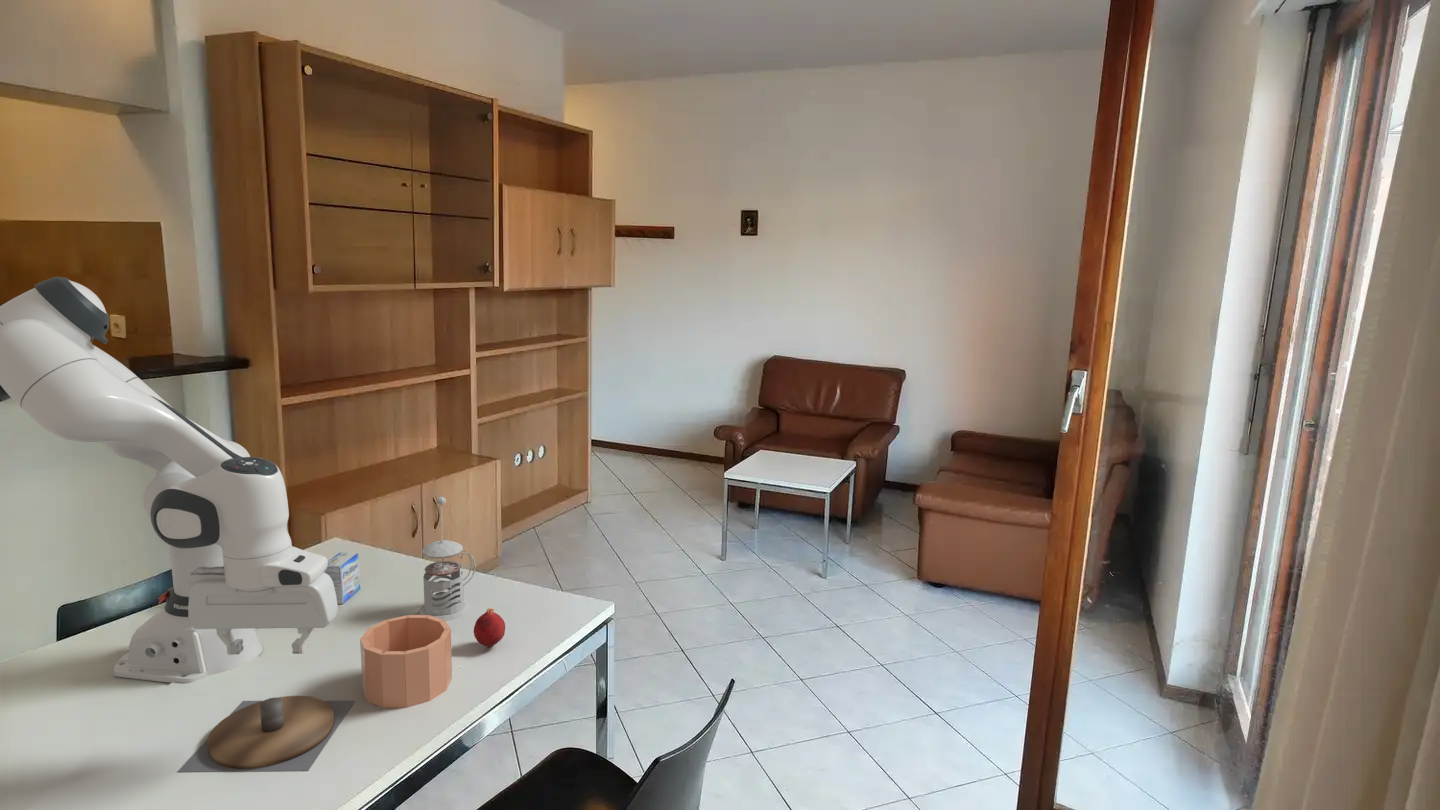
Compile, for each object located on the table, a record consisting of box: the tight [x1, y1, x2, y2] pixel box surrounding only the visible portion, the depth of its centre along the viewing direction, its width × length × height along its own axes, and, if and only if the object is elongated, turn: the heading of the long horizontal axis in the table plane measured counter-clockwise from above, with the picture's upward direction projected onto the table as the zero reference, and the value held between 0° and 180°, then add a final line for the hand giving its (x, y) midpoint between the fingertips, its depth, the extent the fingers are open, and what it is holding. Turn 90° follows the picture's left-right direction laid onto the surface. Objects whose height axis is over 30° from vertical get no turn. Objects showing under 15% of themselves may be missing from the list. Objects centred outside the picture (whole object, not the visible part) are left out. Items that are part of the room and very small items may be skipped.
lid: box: [207, 695, 334, 769], centre depth 121 cm, size 17×17×5 cm
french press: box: [418, 496, 476, 622], centre depth 163 cm, size 10×12×25 cm
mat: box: [176, 700, 356, 773], centre depth 121 cm, size 18×18×1 cm
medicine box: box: [324, 551, 361, 605], centre depth 169 cm, size 8×4×9 cm, turn 179°
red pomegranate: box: [473, 607, 506, 649], centre depth 150 cm, size 6×6×8 cm
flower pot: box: [359, 614, 453, 709], centre depth 135 cm, size 14×14×10 cm
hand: (268, 652), depth 118 cm, fingers open, 8 cm apart
